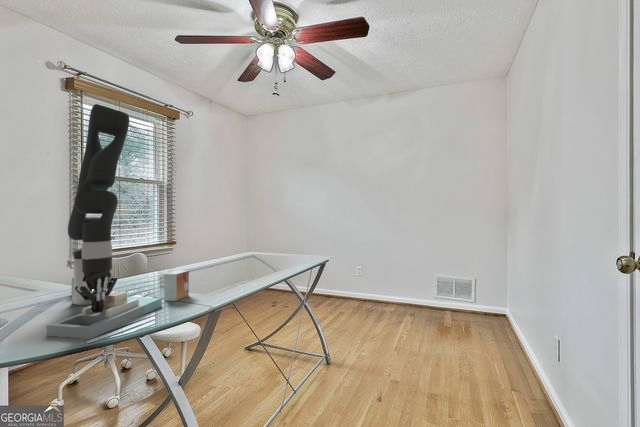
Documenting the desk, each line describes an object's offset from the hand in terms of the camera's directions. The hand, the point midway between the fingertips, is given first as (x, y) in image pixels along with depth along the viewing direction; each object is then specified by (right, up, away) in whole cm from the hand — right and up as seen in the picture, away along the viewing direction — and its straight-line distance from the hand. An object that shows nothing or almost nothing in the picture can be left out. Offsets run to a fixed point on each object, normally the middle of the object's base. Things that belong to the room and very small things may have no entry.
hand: (97, 312), depth 94 cm
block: (+1, -1, +6) cm, 6 cm away
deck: (+1, -4, +5) cm, 6 cm away
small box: (+11, -4, +29) cm, 31 cm away
